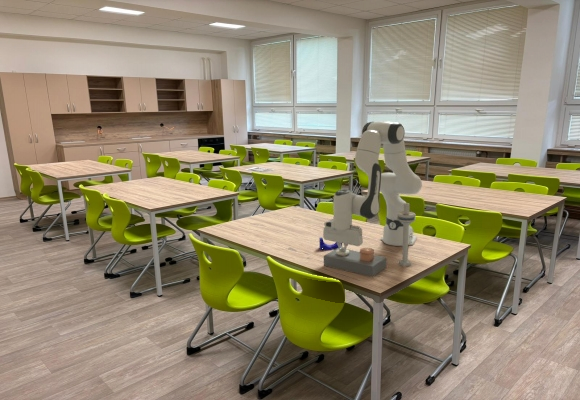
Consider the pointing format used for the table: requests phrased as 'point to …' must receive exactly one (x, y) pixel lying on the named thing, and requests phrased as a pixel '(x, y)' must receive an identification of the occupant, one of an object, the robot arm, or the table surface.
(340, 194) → the robot arm
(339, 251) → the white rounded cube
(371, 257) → the terracotta plunger
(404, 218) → the model tower
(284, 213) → the table surface
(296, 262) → the table surface
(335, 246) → the cable clip
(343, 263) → the console
